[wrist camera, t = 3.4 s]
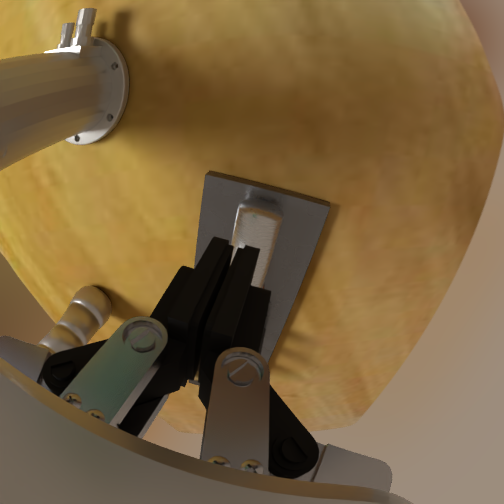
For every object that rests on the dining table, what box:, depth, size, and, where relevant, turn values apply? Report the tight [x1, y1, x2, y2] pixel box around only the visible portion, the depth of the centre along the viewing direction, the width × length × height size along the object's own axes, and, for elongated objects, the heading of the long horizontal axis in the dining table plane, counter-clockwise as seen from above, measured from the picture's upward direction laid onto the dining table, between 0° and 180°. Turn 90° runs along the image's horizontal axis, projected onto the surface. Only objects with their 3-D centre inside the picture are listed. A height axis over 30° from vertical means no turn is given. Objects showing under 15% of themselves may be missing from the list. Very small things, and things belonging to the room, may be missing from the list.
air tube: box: [230, 199, 284, 289], centre depth 30 cm, size 16×4×4 cm, turn 169°
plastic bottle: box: [36, 286, 112, 354], centre depth 34 cm, size 6×7×20 cm
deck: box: [194, 171, 330, 363], centre depth 36 cm, size 31×12×1 cm, turn 169°
